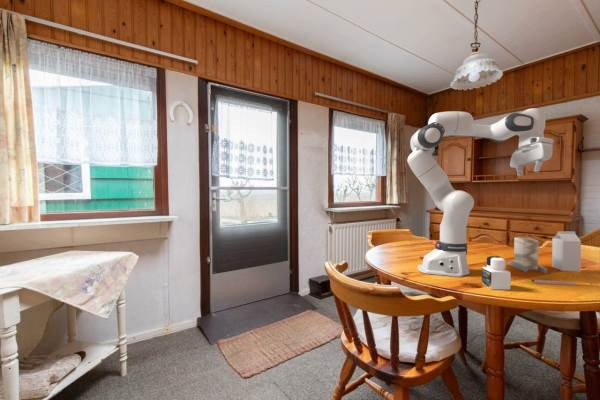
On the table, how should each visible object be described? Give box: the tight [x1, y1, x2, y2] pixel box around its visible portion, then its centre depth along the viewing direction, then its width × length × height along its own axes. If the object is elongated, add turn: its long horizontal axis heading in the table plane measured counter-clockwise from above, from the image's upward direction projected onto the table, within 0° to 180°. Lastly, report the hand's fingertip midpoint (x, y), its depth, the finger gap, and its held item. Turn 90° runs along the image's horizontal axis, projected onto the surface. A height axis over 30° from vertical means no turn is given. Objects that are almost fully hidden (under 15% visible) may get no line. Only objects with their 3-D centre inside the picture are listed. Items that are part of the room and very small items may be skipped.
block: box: [513, 236, 539, 271], centre depth 133 cm, size 6×8×14 cm
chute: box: [508, 260, 578, 286], centre depth 125 cm, size 14×27×3 cm, turn 167°
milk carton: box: [551, 230, 582, 273], centre depth 130 cm, size 7×7×19 cm
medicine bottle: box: [481, 255, 512, 291], centre depth 110 cm, size 7×7×12 cm
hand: (527, 173), depth 125 cm, fingers open, 8 cm apart
